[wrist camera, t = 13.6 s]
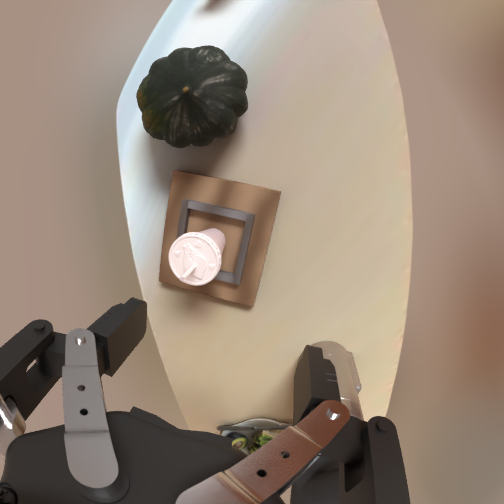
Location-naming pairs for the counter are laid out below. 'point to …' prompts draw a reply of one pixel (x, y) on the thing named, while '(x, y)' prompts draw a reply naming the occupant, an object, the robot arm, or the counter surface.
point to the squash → (192, 96)
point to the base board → (222, 230)
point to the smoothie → (197, 256)
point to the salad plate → (252, 433)
